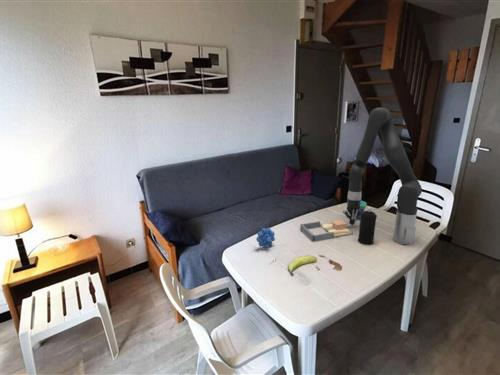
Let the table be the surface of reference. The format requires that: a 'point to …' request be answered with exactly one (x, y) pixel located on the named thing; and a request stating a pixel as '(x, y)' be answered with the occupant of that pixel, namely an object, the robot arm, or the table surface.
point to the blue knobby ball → (265, 237)
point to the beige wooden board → (337, 233)
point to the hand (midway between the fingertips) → (351, 224)
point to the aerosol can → (367, 227)
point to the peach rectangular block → (339, 225)
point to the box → (314, 238)
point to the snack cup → (362, 207)
